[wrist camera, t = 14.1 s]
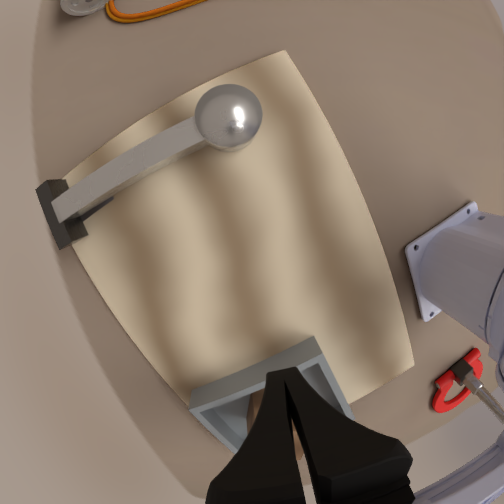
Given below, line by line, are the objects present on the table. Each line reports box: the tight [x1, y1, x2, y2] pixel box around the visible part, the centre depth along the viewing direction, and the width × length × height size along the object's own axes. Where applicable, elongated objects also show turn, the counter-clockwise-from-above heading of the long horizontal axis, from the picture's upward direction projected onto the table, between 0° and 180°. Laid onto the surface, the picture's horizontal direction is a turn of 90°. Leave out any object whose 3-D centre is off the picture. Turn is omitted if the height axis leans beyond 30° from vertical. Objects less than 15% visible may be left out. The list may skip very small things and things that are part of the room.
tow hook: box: [432, 348, 504, 424], centre depth 19 cm, size 8×13×9 cm
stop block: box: [246, 388, 304, 460], centre depth 19 cm, size 4×4×5 cm
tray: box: [189, 336, 355, 454], centre depth 21 cm, size 11×9×2 cm
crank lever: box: [36, 84, 263, 250], centre depth 15 cm, size 15×4×3 cm, turn 114°
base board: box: [62, 50, 415, 407], centre depth 20 cm, size 20×29×1 cm
